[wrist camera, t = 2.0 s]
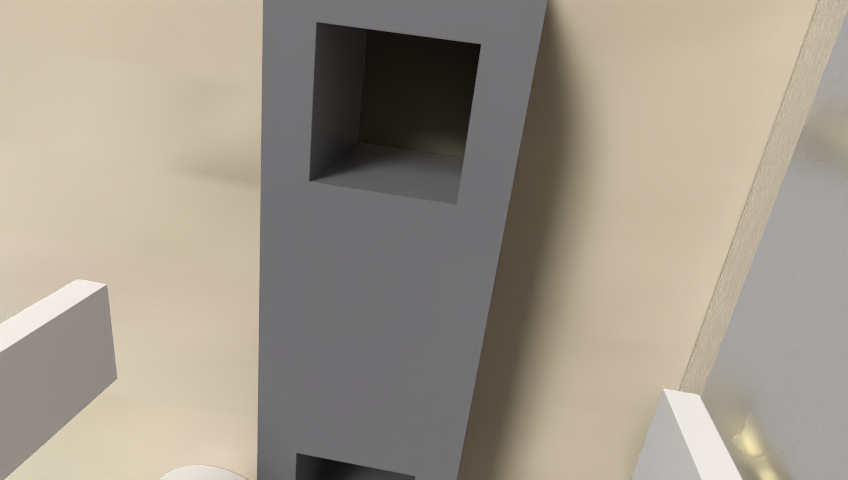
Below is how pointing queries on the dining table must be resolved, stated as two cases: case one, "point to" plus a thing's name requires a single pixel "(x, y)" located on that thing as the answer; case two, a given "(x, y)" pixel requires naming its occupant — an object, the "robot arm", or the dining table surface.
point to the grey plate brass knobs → (788, 285)
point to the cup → (201, 473)
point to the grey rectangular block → (378, 242)
